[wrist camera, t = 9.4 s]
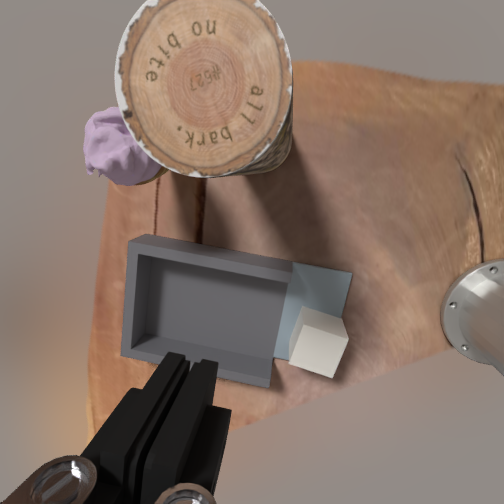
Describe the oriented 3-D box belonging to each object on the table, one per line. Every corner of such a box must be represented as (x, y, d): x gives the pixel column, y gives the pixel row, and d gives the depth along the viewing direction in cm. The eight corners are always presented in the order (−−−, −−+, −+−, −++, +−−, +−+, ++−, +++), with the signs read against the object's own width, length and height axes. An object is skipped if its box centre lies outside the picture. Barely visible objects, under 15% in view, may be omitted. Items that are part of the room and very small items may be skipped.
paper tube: (300, 160, 36) (317, 140, 12) (243, 181, 38) (156, 202, 14) (280, 98, 35) (255, -61, 11) (221, 122, 36) (84, 28, 12)
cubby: (351, 272, 39) (359, 285, 34) (324, 377, 42) (328, 401, 38) (145, 233, 40) (128, 241, 36) (137, 337, 44) (120, 355, 40)
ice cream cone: (153, 188, 39) (71, 199, 25) (136, 135, 38) (39, 112, 23) (206, 173, 38) (152, 176, 23) (190, 118, 37) (123, 84, 22)
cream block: (341, 318, 40) (348, 339, 35) (327, 353, 41) (332, 378, 36) (302, 305, 40) (303, 324, 35) (289, 340, 41) (288, 363, 36)
